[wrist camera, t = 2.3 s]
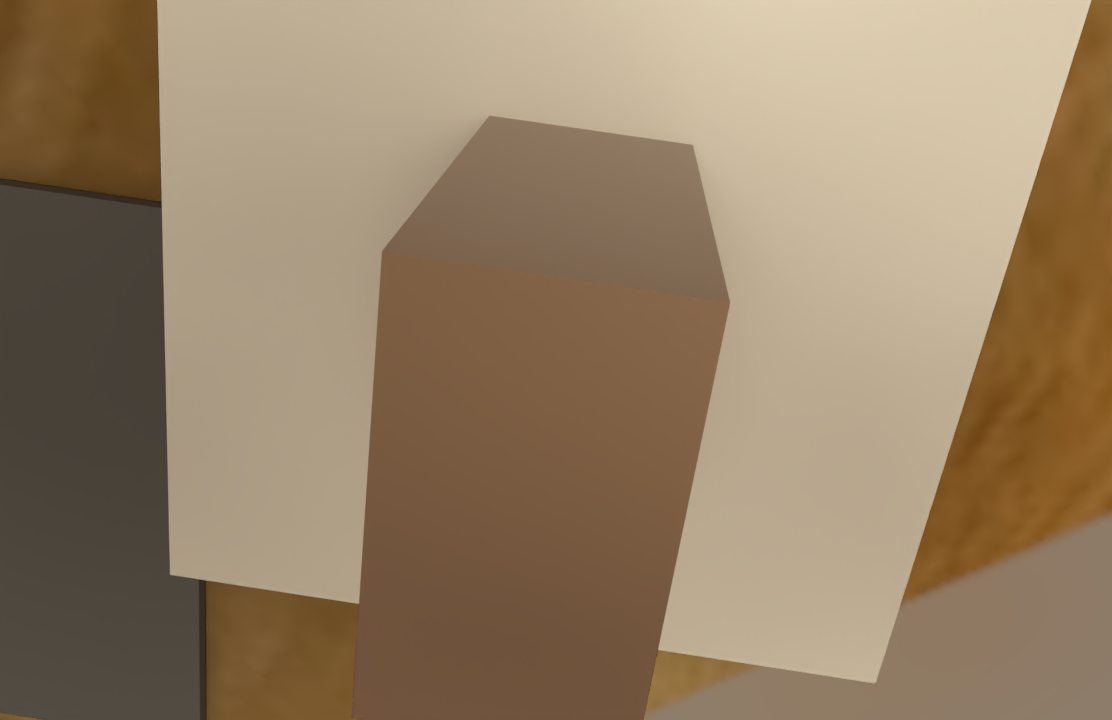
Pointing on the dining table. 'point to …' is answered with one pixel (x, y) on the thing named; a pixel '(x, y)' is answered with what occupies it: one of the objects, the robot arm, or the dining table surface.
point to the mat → (88, 467)
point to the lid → (584, 320)
